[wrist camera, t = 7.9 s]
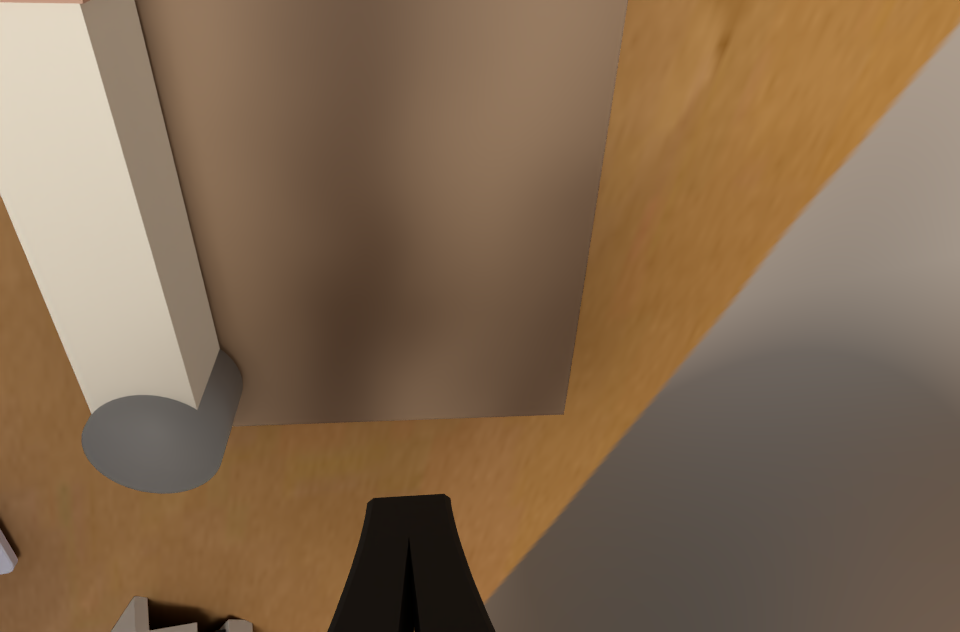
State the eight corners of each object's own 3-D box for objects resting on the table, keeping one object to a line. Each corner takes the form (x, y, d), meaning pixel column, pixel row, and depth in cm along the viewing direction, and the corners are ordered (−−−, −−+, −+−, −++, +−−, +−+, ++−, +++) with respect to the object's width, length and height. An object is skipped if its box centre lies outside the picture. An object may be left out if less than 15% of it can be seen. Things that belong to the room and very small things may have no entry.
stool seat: (122, 385, 21) (58, 508, 17) (-130, -336, 12) (-405, -431, 8) (551, 373, 22) (583, 484, 18) (639, -279, 13) (743, -334, 9)
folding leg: (252, 417, 19) (233, 489, 17) (138, 422, 19) (104, 496, 17) (135, -95, 12) (77, -83, 10) (-52, -100, 12) (-156, -89, 10)
